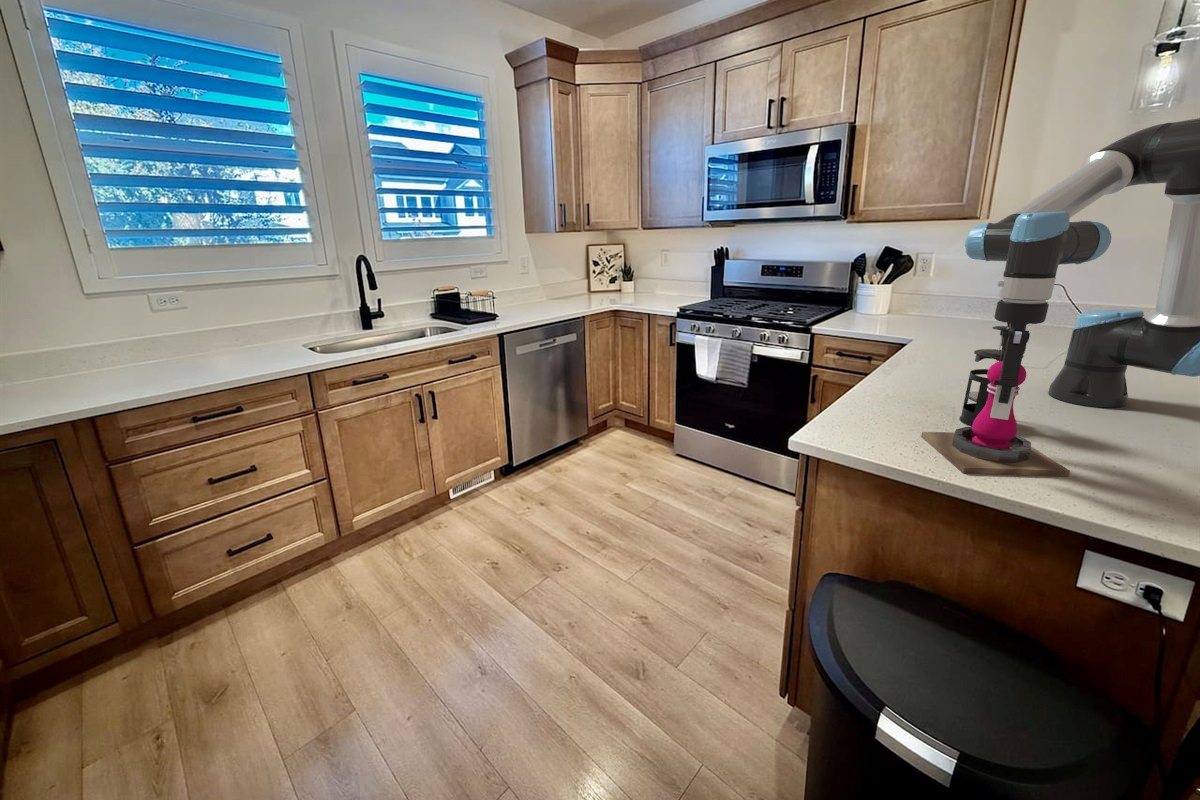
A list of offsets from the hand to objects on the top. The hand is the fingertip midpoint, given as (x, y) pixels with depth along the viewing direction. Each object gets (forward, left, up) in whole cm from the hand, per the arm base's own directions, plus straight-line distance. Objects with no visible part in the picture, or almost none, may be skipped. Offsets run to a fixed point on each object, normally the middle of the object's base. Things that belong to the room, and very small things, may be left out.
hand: (998, 407), depth 102 cm
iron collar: (0, 0, -9) cm, 9 cm away
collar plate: (0, 0, -10) cm, 10 cm away
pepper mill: (0, 0, -9) cm, 9 cm away
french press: (-9, -19, -11) cm, 23 cm away
